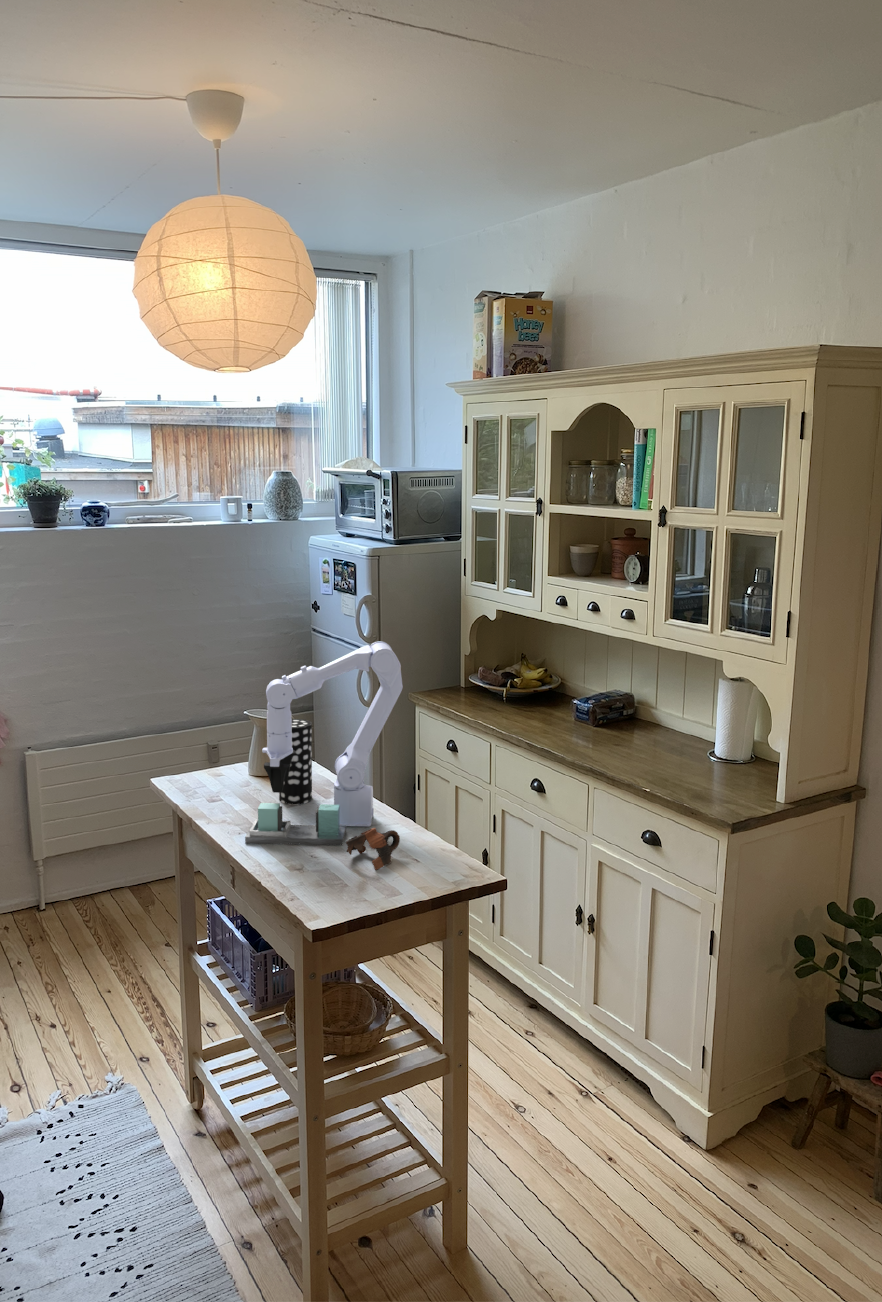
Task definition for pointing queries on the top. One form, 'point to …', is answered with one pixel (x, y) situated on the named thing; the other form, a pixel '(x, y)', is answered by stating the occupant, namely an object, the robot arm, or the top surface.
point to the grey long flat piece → (304, 830)
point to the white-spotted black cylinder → (299, 765)
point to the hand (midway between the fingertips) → (280, 786)
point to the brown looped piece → (375, 845)
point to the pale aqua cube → (270, 817)
